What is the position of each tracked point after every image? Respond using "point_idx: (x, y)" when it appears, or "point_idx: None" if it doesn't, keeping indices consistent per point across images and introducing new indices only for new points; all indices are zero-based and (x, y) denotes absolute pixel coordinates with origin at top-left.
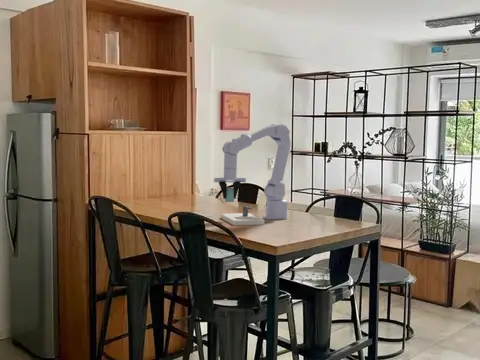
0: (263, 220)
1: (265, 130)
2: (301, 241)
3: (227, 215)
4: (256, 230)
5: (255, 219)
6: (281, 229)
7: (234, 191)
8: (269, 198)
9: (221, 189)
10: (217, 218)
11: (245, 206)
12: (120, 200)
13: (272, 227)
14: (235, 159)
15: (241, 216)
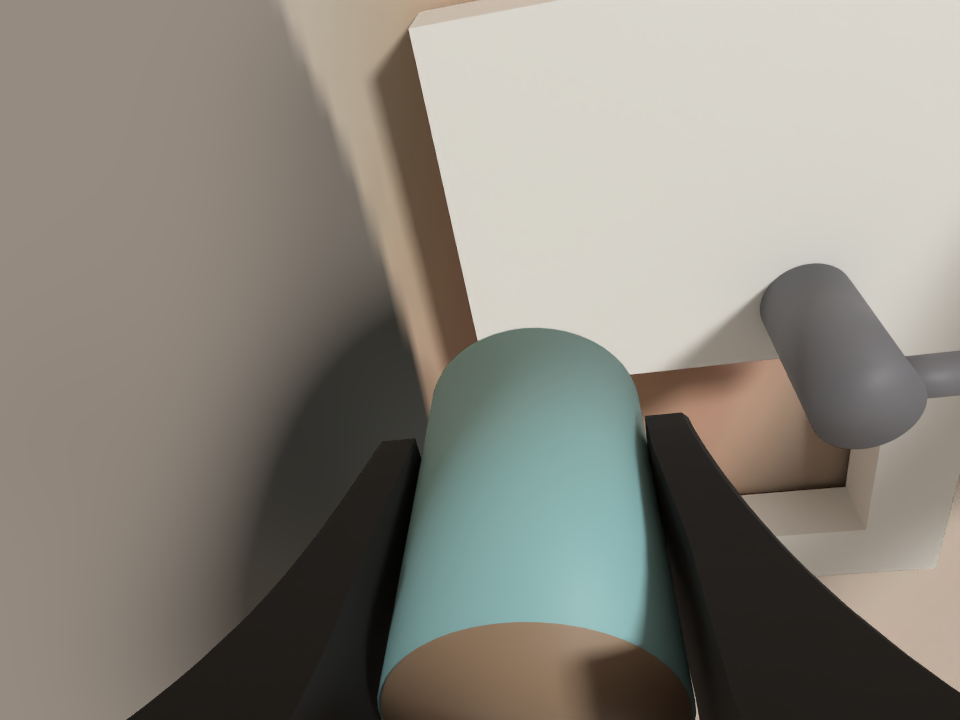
0: (918, 565)
1: None
2: None
3: (512, 248)
4: (695, 703)
5: (832, 540)
6: (953, 686)
7: (689, 631)
8: None
9: (261, 621)
10: (359, 15)
11: (852, 432)
12: None
13: (922, 619)
14: None
15: (727, 336)
